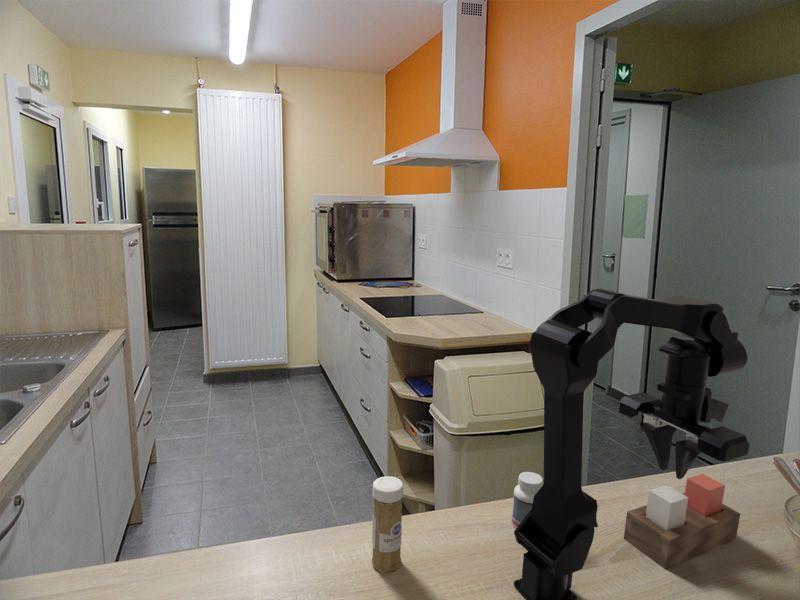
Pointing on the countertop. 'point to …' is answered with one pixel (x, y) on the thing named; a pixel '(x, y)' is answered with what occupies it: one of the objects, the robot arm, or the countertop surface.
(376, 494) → the sprinkles bottle
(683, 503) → the grey plug
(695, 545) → the socket block
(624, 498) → the countertop surface
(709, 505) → the red plug
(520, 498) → the pill bottle
